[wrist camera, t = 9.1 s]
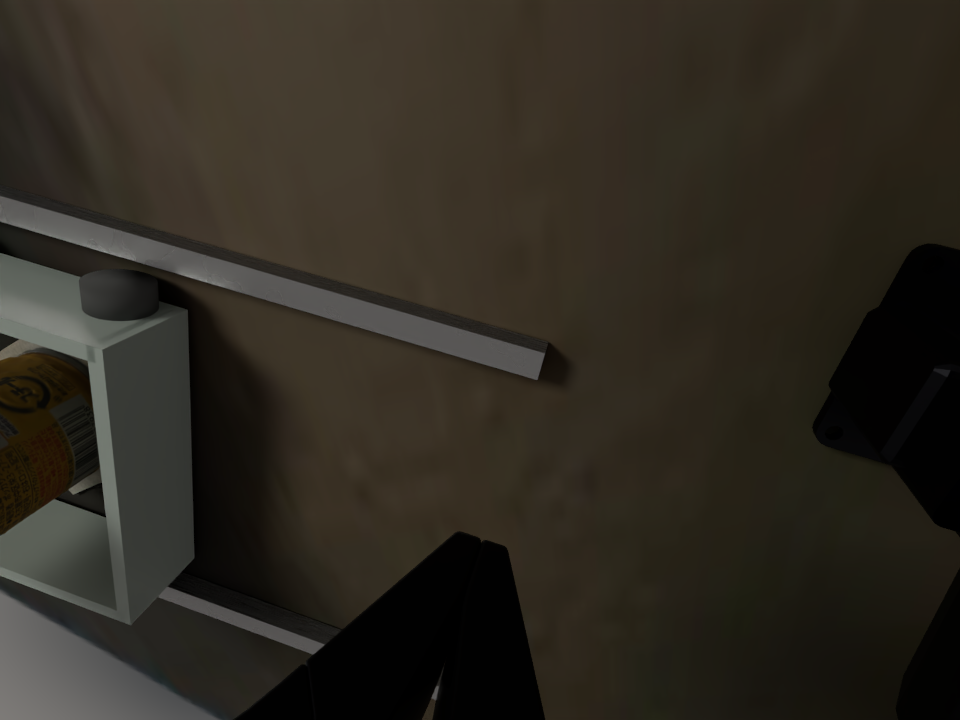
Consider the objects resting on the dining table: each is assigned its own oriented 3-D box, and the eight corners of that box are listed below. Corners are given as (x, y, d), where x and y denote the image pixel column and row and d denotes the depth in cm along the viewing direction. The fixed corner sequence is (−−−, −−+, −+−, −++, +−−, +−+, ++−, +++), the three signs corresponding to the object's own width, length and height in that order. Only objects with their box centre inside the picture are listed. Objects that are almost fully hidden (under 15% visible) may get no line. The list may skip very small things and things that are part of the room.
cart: (187, 285, 21) (99, 321, 18) (194, 572, 28) (132, 640, 24) (-88, 203, 23) (-221, 221, 19) (-18, 495, 29) (-106, 549, 26)
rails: (548, 341, 19) (544, 353, 18) (449, 683, 27) (443, 702, 27) (-137, 146, 22) (-168, 147, 22) (-41, 503, 31) (-61, 515, 30)
